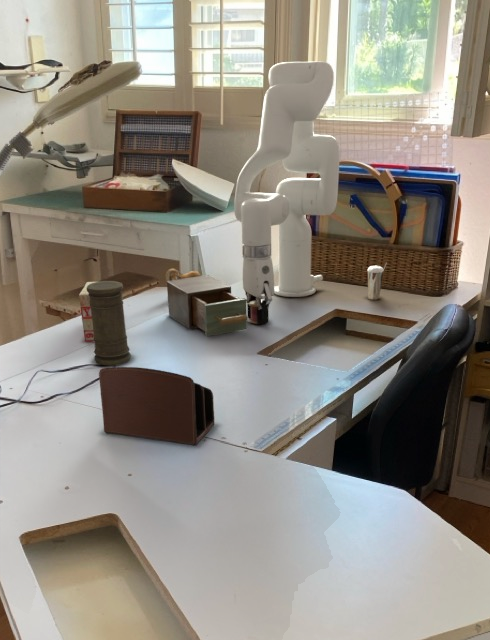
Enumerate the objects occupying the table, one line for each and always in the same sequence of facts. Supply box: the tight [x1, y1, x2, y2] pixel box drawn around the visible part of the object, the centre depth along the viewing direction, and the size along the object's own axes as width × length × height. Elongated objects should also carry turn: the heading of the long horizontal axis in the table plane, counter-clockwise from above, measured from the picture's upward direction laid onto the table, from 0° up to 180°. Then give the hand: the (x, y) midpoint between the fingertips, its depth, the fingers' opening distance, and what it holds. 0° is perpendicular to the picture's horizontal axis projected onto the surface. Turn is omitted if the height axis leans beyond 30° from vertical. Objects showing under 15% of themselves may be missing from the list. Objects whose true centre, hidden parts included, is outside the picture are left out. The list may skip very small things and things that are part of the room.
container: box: [87, 280, 132, 367], centre depth 193 cm, size 9×9×18 cm
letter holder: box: [98, 366, 215, 446], centre depth 158 cm, size 10×20×14 cm, turn 69°
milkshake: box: [366, 262, 388, 301], centre depth 234 cm, size 4×5×10 cm
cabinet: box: [166, 274, 232, 330], centre depth 222 cm, size 15×13×10 cm
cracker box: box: [78, 281, 96, 343], centre depth 216 cm, size 21×6×12 cm, turn 179°
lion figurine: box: [165, 267, 202, 282], centre depth 243 cm, size 15×5×9 cm, turn 136°
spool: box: [248, 299, 264, 325], centre depth 219 cm, size 5×5×5 cm
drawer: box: [190, 290, 248, 337], centre depth 212 cm, size 18×11×8 cm, turn 25°
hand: (257, 319), depth 220 cm, fingers closed on spool, 4 cm apart
